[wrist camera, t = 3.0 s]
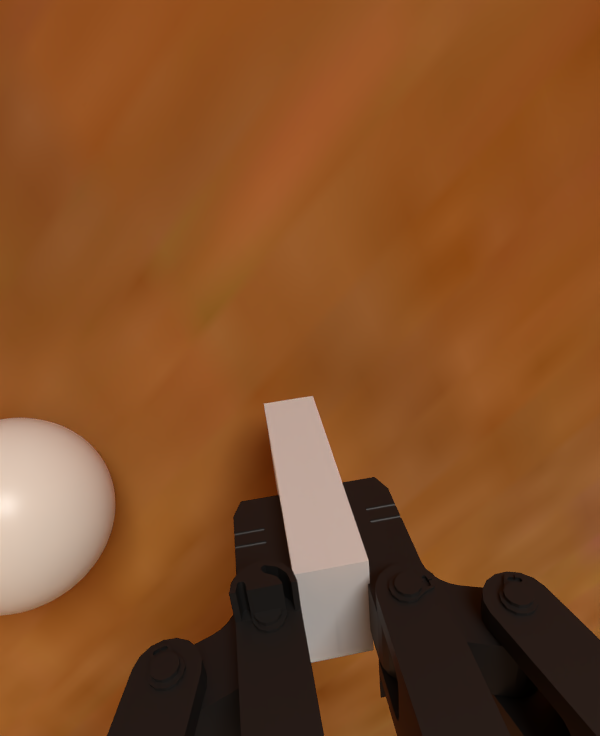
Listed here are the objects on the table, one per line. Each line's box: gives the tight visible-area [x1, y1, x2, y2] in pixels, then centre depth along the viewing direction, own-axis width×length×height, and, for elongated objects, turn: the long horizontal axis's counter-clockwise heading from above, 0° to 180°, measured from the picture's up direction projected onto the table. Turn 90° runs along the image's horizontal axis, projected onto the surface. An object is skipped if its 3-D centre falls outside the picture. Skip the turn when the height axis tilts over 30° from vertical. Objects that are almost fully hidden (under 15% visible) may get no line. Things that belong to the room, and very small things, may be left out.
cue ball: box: [0, 418, 115, 615], centre depth 16 cm, size 6×6×6 cm
